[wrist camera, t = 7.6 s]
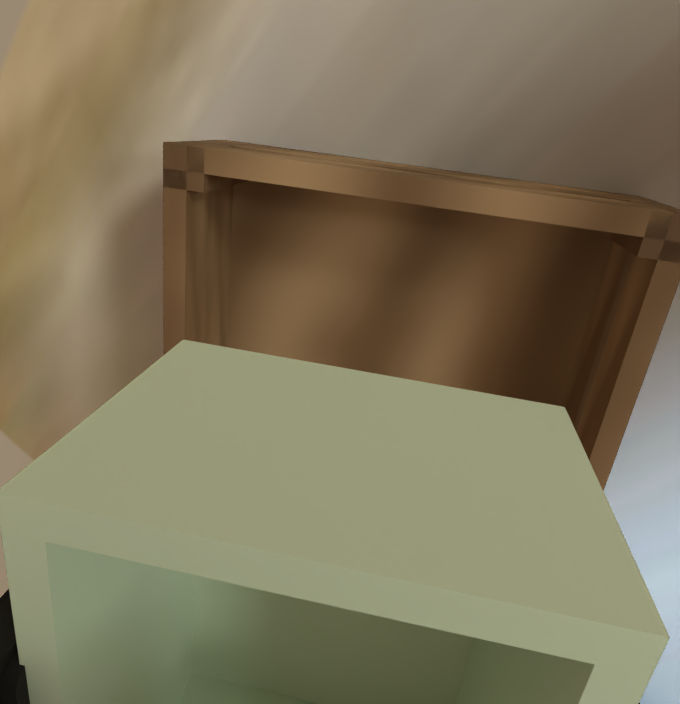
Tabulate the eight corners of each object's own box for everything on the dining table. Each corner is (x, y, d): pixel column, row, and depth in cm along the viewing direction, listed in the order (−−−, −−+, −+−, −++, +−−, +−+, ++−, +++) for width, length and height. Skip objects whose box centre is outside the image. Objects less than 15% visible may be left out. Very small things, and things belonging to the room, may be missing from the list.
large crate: (641, 196, 21) (702, 217, 16) (554, 473, 26) (580, 554, 21) (223, 139, 23) (163, 142, 18) (213, 408, 28) (164, 468, 23)
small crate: (564, 407, 9) (669, 638, 5) (464, 732, 12) (477, 1043, 8) (183, 339, 10) (-5, 491, 6) (179, 663, 13) (55, 916, 9)
